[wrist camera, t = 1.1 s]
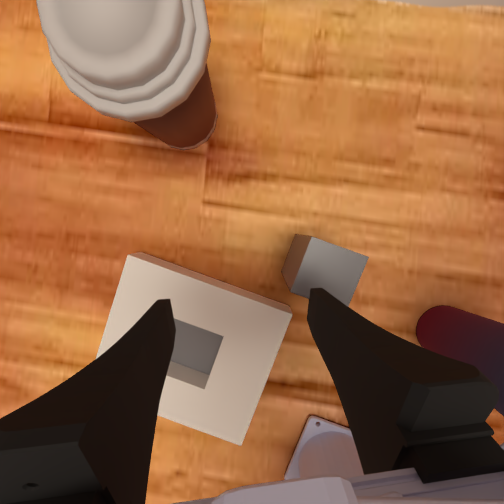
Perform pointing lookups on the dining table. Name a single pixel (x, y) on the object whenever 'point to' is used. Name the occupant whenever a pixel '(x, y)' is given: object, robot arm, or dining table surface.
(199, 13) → the coffee cup
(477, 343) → the cup
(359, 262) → the plug
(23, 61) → the dining table surface
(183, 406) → the socket plate
